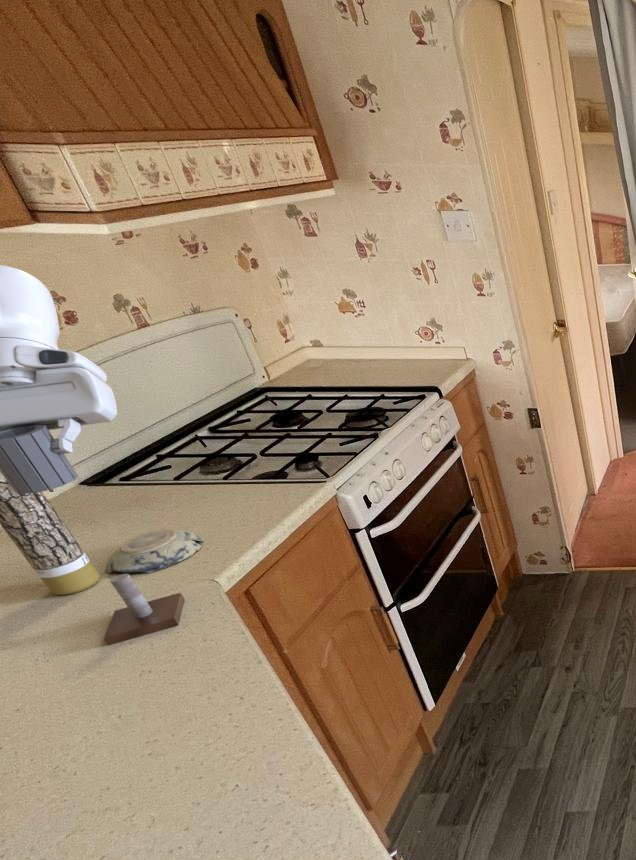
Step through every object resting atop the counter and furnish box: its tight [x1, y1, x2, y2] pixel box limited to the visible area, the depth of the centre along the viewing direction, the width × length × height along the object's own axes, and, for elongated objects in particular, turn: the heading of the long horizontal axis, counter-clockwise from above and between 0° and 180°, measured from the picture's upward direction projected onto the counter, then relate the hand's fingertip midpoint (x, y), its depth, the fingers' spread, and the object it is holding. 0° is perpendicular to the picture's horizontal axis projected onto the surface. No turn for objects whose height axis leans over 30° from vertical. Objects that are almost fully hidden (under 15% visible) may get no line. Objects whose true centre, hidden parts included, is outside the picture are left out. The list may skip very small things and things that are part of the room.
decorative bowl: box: [105, 528, 204, 574], centre depth 132 cm, size 15×4×15 cm
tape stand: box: [103, 573, 186, 646], centre depth 112 cm, size 9×9×9 cm
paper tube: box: [0, 472, 101, 596], centre depth 118 cm, size 7×7×25 cm
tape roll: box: [0, 424, 79, 494], centre depth 97 cm, size 7×7×8 cm
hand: (26, 457), depth 96 cm, fingers closed on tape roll, 7 cm apart
